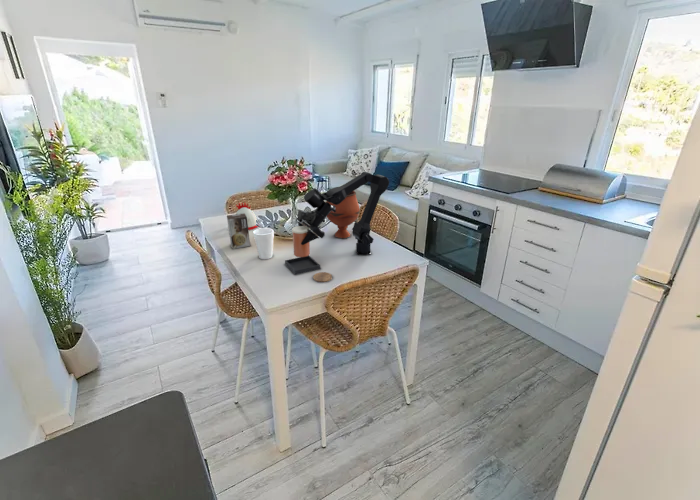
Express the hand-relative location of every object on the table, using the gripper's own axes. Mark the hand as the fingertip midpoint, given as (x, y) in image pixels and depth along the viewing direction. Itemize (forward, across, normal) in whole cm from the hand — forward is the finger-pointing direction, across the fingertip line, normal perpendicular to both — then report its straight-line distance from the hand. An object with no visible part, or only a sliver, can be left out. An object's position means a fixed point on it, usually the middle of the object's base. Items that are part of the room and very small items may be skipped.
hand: (298, 241), depth 153 cm
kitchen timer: (+14, -66, +4) cm, 67 cm away
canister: (+3, 0, +5) cm, 6 cm away
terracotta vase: (-17, -26, +35) cm, 46 cm away
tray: (+8, 0, +10) cm, 13 cm away
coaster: (+6, +14, +12) cm, 20 cm away
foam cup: (+16, -18, +2) cm, 25 cm away
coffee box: (+21, -38, -3) cm, 43 cm away
